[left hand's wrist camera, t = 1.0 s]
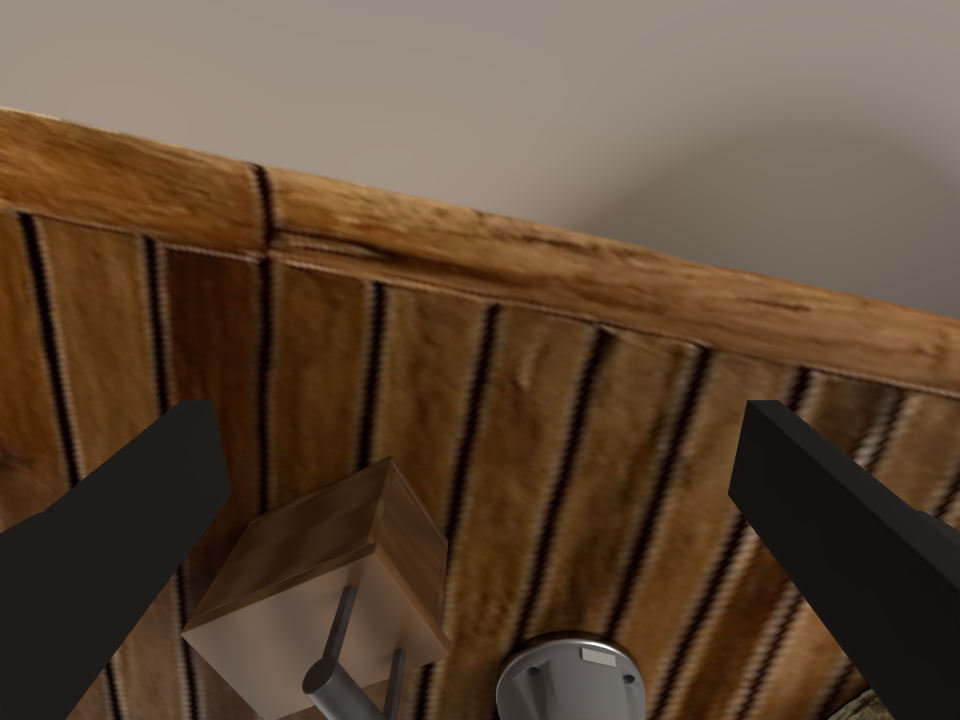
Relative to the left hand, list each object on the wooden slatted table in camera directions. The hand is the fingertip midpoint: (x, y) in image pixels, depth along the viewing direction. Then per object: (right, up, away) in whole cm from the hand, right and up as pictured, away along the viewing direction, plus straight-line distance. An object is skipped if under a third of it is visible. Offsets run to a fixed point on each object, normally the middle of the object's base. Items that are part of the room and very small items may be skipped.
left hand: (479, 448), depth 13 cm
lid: (-11, -17, +24) cm, 32 cm away
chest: (-12, -13, +34) cm, 39 cm away
